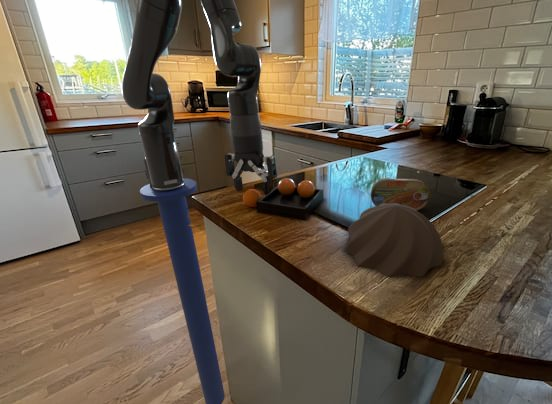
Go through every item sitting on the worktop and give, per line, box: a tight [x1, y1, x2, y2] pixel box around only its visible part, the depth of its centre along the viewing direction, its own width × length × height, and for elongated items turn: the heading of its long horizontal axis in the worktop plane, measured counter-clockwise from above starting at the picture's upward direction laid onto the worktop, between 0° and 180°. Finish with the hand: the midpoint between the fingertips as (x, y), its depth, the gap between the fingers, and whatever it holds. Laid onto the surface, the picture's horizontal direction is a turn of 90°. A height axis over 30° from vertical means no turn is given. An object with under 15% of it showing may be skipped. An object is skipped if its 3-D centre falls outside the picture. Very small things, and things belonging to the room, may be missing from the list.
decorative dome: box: [344, 203, 444, 278], centre depth 60 cm, size 19×20×10 cm
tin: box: [370, 177, 431, 212], centre depth 79 cm, size 15×3×8 cm, turn 82°
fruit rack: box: [255, 177, 324, 221], centre depth 82 cm, size 14×14×6 cm
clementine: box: [242, 188, 262, 208], centre depth 82 cm, size 5×5×5 cm
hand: (253, 192), depth 81 cm, fingers open, 8 cm apart
